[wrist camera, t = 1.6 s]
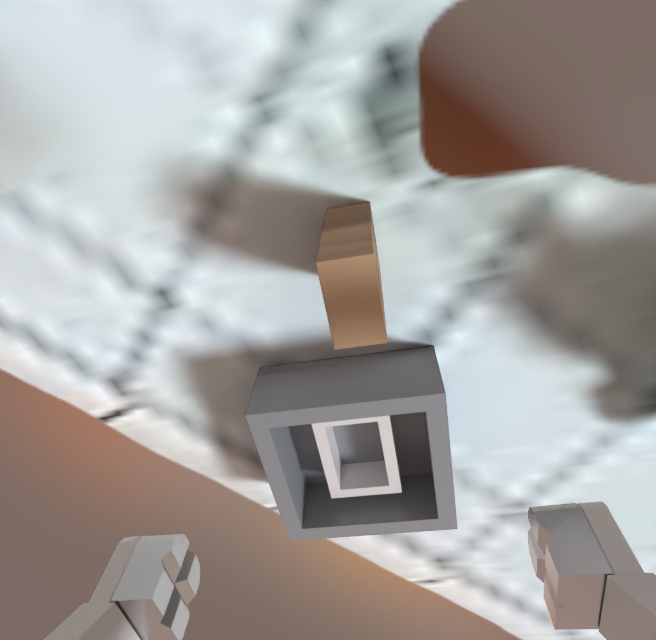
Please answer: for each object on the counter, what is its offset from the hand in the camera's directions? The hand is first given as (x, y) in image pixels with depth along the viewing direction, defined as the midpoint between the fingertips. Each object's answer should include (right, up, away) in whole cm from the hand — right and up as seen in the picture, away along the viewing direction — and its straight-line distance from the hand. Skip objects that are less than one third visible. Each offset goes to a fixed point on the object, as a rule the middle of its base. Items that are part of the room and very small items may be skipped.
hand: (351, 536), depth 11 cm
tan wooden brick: (+1, +10, +17) cm, 20 cm away
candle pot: (+2, -3, +24) cm, 24 cm away
